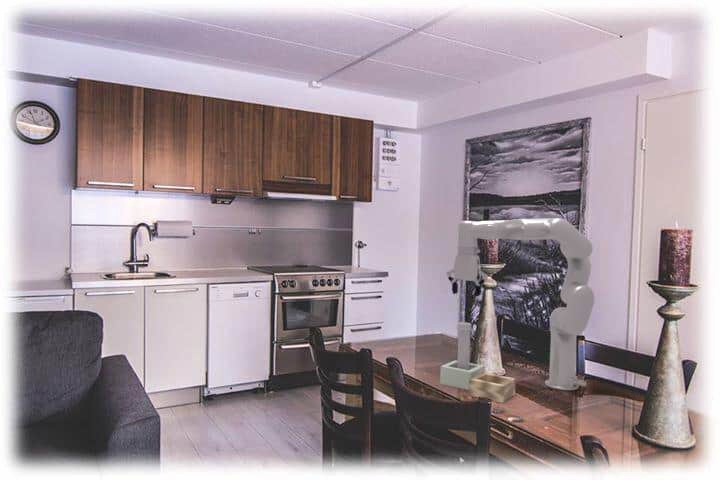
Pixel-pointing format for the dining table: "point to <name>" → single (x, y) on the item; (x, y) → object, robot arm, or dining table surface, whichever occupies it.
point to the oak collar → (492, 387)
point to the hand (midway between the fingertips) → (466, 294)
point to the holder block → (459, 374)
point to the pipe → (463, 344)
